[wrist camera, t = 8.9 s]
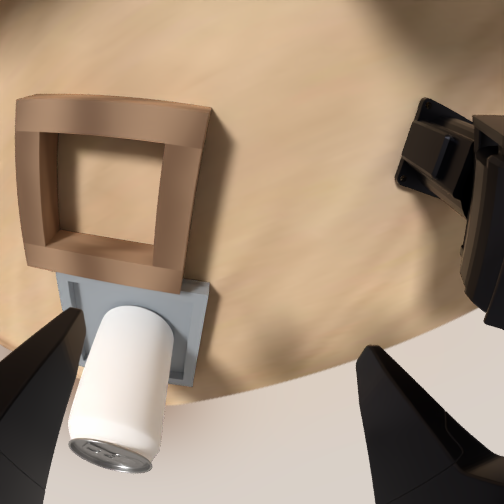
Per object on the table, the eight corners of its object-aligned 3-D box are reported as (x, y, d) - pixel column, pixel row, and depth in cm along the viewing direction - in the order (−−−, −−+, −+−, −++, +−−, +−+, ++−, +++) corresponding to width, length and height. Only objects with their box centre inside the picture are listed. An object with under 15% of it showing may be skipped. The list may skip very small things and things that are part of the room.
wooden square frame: (211, 107, 17) (208, 113, 15) (183, 273, 23) (179, 294, 21) (36, 94, 15) (16, 99, 13) (41, 247, 21) (27, 265, 19)
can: (152, 363, 28) (134, 480, 18) (92, 330, 26) (53, 448, 15) (189, 328, 26) (177, 464, 16) (121, 288, 23) (76, 426, 13)
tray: (209, 282, 24) (208, 295, 23) (193, 374, 30) (192, 386, 29) (62, 257, 22) (55, 267, 21) (80, 353, 28) (76, 364, 27)
